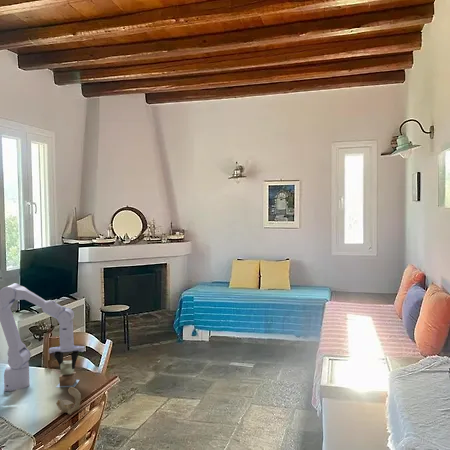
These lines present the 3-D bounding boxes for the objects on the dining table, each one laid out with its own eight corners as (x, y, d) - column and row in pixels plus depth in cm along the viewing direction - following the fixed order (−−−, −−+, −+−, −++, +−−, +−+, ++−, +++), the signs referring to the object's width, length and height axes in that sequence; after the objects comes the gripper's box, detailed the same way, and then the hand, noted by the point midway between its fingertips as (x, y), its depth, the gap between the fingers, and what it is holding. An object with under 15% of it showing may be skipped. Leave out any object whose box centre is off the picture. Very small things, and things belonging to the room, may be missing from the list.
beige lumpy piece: (54, 415, 162) (57, 386, 167) (55, 417, 167) (57, 389, 172) (79, 413, 164) (81, 384, 169) (79, 416, 170) (81, 388, 175)
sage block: (60, 374, 192) (60, 364, 192) (63, 371, 197) (63, 360, 197) (71, 374, 193) (71, 363, 192) (74, 370, 197) (73, 360, 197)
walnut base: (59, 386, 192) (59, 376, 192) (63, 381, 198) (63, 372, 198) (72, 385, 193) (72, 376, 192) (76, 380, 198) (75, 371, 198)
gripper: (46, 340, 190) (47, 372, 190) (81, 339, 191) (82, 371, 191) (51, 336, 197) (52, 367, 198) (85, 334, 198) (86, 365, 198)
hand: (67, 368), depth 195 cm, fingers closed on sage block, 4 cm apart
